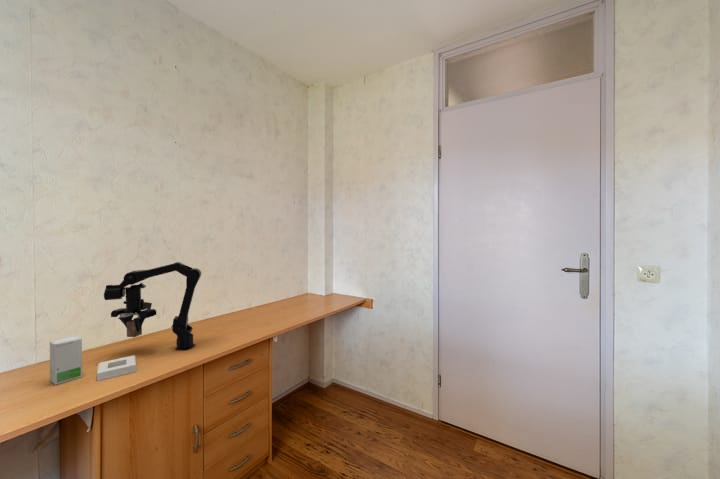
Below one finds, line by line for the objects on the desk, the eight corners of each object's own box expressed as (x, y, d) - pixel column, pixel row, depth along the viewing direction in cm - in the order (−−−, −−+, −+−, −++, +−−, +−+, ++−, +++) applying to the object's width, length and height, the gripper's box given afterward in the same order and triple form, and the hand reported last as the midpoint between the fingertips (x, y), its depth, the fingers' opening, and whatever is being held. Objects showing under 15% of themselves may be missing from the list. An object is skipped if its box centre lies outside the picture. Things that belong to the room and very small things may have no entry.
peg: (141, 334, 143) (141, 319, 142) (134, 337, 139) (134, 322, 138) (134, 333, 143) (133, 319, 143) (126, 336, 139) (126, 321, 139)
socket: (135, 361, 133) (134, 355, 133) (136, 371, 124) (135, 364, 123) (99, 369, 126) (99, 362, 125) (97, 381, 116) (97, 373, 116)
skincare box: (54, 385, 113) (53, 344, 112) (49, 381, 116) (47, 341, 116) (83, 376, 120) (82, 337, 120) (78, 372, 124) (76, 334, 123)
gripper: (164, 294, 147) (165, 326, 148) (130, 294, 149) (131, 325, 150) (146, 300, 136) (147, 334, 137) (109, 299, 138) (110, 332, 139)
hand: (134, 331), depth 141 cm, fingers closed on peg, 4 cm apart
